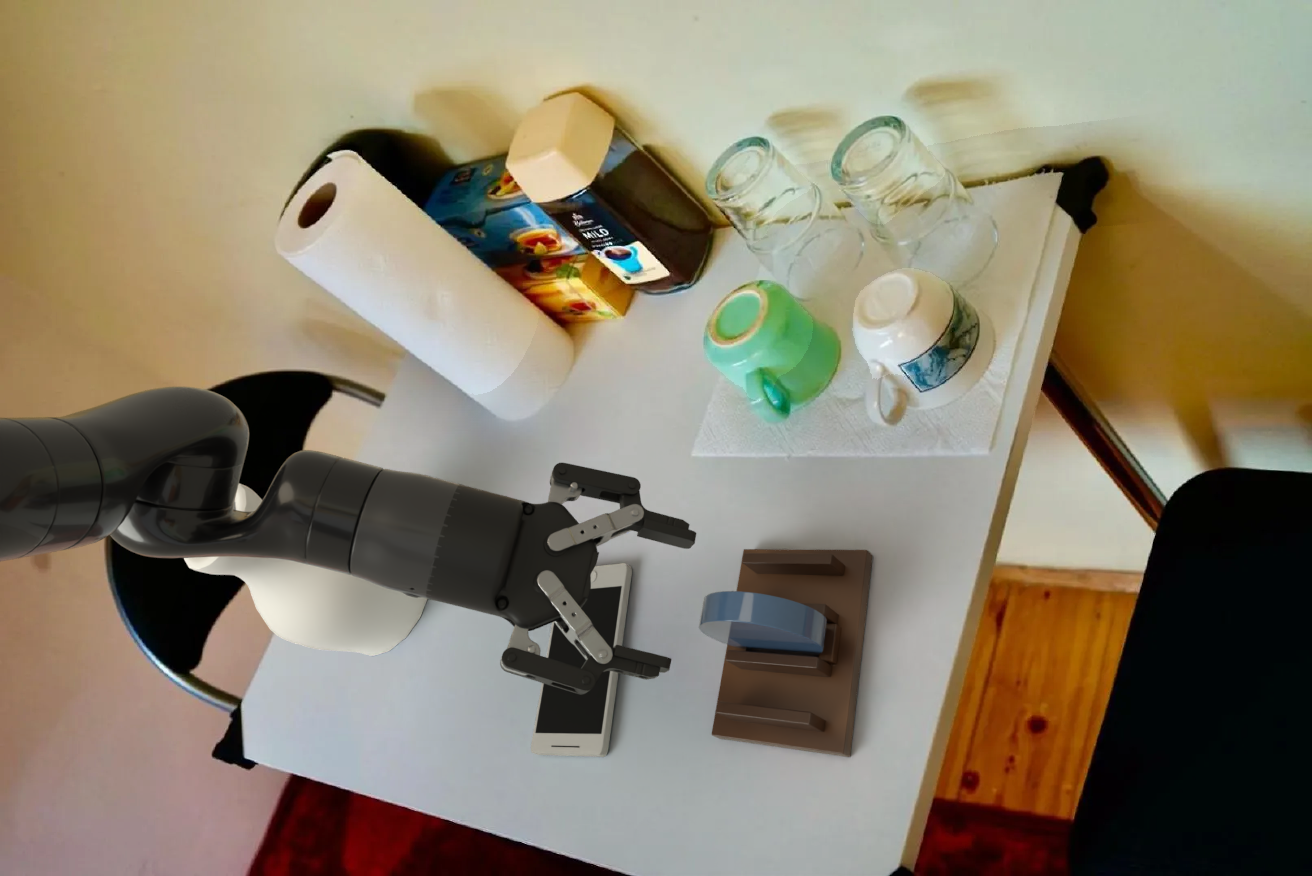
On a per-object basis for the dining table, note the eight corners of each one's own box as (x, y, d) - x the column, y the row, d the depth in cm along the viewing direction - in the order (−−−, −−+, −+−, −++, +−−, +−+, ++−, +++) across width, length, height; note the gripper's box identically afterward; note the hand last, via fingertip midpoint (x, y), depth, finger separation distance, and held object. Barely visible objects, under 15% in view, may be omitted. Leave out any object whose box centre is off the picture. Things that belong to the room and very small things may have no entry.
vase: (453, 525, 91) (290, 438, 76) (419, 666, 84) (233, 599, 70) (360, 538, 98) (195, 461, 84) (322, 669, 92) (136, 609, 77)
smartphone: (633, 565, 75) (626, 562, 75) (607, 757, 68) (600, 754, 68) (566, 573, 79) (560, 569, 78) (536, 755, 72) (528, 752, 71)
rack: (850, 757, 59) (828, 746, 56) (719, 738, 64) (693, 728, 62) (873, 555, 64) (854, 537, 62) (750, 554, 70) (728, 537, 67)
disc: (843, 660, 60) (790, 624, 54) (734, 652, 65) (675, 617, 59) (846, 631, 61) (794, 592, 55) (739, 625, 66) (681, 588, 60)
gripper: (400, 640, 51) (673, 705, 53) (471, 418, 57) (715, 484, 58) (407, 658, 58) (648, 715, 60) (469, 458, 63) (688, 517, 65)
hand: (681, 601), depth 59 cm, fingers open, 8 cm apart
